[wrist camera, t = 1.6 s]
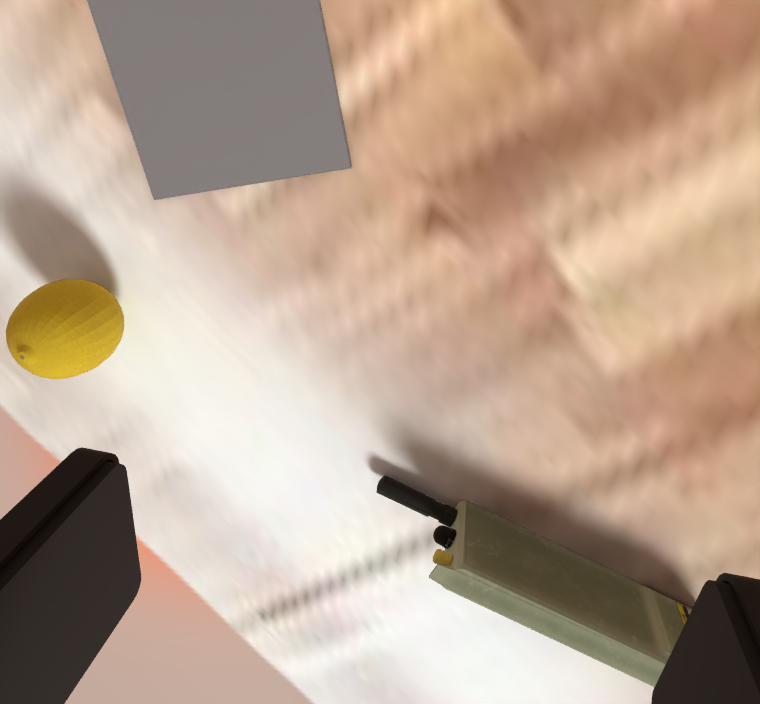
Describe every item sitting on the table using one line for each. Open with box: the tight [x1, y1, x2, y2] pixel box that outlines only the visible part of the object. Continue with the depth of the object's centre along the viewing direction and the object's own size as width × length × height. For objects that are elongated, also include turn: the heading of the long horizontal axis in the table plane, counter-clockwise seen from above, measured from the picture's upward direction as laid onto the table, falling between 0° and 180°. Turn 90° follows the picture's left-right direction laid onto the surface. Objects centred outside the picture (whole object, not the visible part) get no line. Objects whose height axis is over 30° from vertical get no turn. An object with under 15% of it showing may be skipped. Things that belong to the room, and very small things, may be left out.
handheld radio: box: [377, 475, 692, 687], centre depth 40 cm, size 7×3×25 cm
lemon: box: [6, 279, 124, 379], centre depth 36 cm, size 6×6×8 cm
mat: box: [87, 0, 352, 200], centre depth 31 cm, size 12×12×1 cm
